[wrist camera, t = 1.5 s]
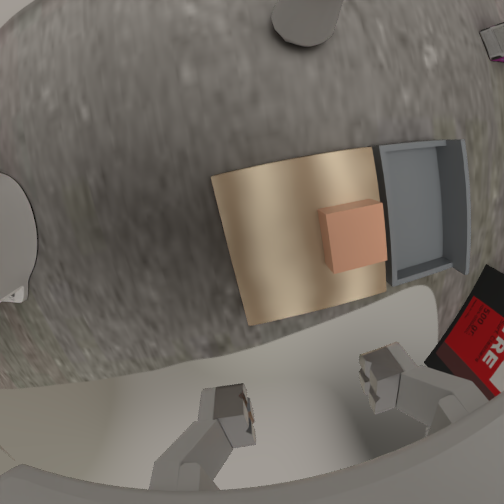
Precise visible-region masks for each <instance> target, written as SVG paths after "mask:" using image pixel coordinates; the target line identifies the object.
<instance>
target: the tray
mask: <svg viewBox="0 0 504 504" xmlns="http://www.w3.org/2000/svg"><path fill="white" fill-rule="evenodd" d="M368 147H372V151H373V156H374V162H375V169H376V175H377V182H378V189H379V197H380V202H382V203H383V211H384V221H385V233H386V246H387V260H386V261H385V268H386V281H387V282H388V283H389V284H390V285H391V286H392V287H393V286H397V285H400V284H403V283H406V282H409V281H413V280H416V279H419V278H422V277H425V276H428V275H431V274H434V273H437V272H440V271H443V270H446V269H448V268H451V267H453V268H454V269H456V270H458V271H459V272H461V273H463V274H464V275H467V274H469V265H470V246H471V203H470V184H469V172H468V162H467V153H466V146H465V140H427V141H415V142H404V143H394V144H385V145H376V146H368Z"/></svg>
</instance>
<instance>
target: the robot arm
mask: <svg viewBox="0 0 504 504" xmlns="http://www.w3.org/2000/svg"><path fill="white" fill-rule="evenodd" d="M36 254H37V233H36V225H35V220H34V216H33V213H32V209H31V206H30V204H29V201H28V199H27V197H26V195H25V193H24V192H23V190H22V189H21V187H20V186H19V185H18V184H17V182H16V181H15V180H13V179H12V178H11V177H9V176H7V175H5V174H2V173H0V302H2V301H5V302H15V303H22V302H23V301H25V300H26V299H27V297H28V280H29V277H30V274H31V272H32V270H33V267H34V264H35V260H36ZM359 364H360V366H361V370H360V371H359V379H360V384H361V387H362V390H363V392H364V394H365V395H367V396H369V404H370V406H371V408H372V410H373V412H374V414H378V413H381V412H384V411H387V410H390V409H392V408H395V407H396V409H398V410H400V411H402V412H403V413H405V414H407V415H409V416H410V417H412V418H414V419H416V420H418V421H419V422H421V423H423V424H425V425H427V426H428V427H430V429H429V432H428V435H427V437H425V438H423V439H421V440H418V441H416V442H414V443H412V444H410V445H407V446H405V447H403V448H400V449H398V450H395V451H393V452H390V453H388V454H385V455H383V456H380V457H378V458H375V459H372V460H369V461H366V462H363V463H360V464H357V465H354V466H351V467H347V468H344V469H340V470H337V471H334V472H330V473H326V474H322V475H318V476H314V477H309V478H305V479H300V480H295V481H290V482H285V483H279V484H272V485H266V486H258V487H250V488H242V489H229V490H220V489H219V488H218V487H217V486H216V485H215V483H214V482H213V480H214V478H215V477H216V475H217V474H218V472H219V471H220V469H221V468H222V466H223V465H224V463H225V461H226V460H227V458H228V457H229V455H230V454H231V452H232V450H233V448H238V447H245V446H250V445H256V437H255V429H254V426H253V423H254V413H253V408H252V405H251V401H250V398H248V397H247V389H246V387H245V385H244V383H241V384H234V385H227V386H220V387H215V388H205V389H203V390H202V392H201V400H200V407H199V415H198V421H196V422H193V423H192V424H191V425H190V426H189V428H187V430H186V431H185V432H184V433H183V434H182V435H181V436H180V437H179V438H178V439H177V440H176V441H175V442H174V443H173V444H172V445H171V446H170V447H169V448H168V449H167V450H166V451H165V452H164V453H163V454H162V455H161V456H160V457H159V458H158V459H157V460H156V461H155V462H154V467H153V472H152V477H151V482H150V487H149V490H147V489H135V488H127V487H119V486H112V485H105V484H99V483H94V482H89V481H84V480H79V479H74V478H70V477H66V476H62V475H58V474H54V473H51V472H47V471H44V470H41V469H38V468H35V467H32V466H28V465H25V464H21V465H18V466H16V467H14V468H12V469H10V470H8V471H7V472H5V473H4V474H2V475H0V504H504V391H503V392H501V393H500V394H498V395H497V396H496V397H494V398H493V399H491V400H490V401H489V400H488V399H487V398H486V397H485V396H484V394H483V393H482V392H481V391H480V390H479V389H478V387H477V386H476V385H475V384H474V383H473V382H472V381H470V380H466V379H463V378H460V377H457V376H453V375H450V374H447V373H444V372H441V371H438V370H435V369H432V368H429V367H425V366H422V365H420V366H417V365H416V364H415V362H414V361H413V360H412V359H411V357H410V356H409V355H408V354H407V352H406V351H405V350H404V349H403V347H402V346H401V345H400V344H399V343H398V342H394V343H392V344H389V345H386V346H384V347H381V348H378V349H375V350H372V351H369V352H367V353H363V354H360V356H359Z"/></svg>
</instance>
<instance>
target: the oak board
mask: <svg viewBox="0 0 504 504" xmlns="http://www.w3.org/2000/svg"><path fill="white" fill-rule="evenodd" d="M211 180H212V184H213V188H214V192H215V197H216V201H217V205H218V209H219V213H220V217H221V221H222V225H223V229H224V233H225V237H226V241H227V245H228V249H229V253H230V256H231V260H232V264H233V268H234V272H235V276H236V280H237V283H238V287H239V291H240V295H241V299H242V302H243V306H244V310H245V314H246V317H247V321H248V325H249V326H252V325H257V324H262V323H266V322H271V321H275V320H280V319H284V318H288V317H293V316H297V315H301V314H305V313H309V312H313V311H317V310H321V309H325V308H329V307H333V306H336V305H340V304H344V303H348V302H351V301H355V300H358V299H362V298H365V297H369V296H372V295H376V294H379V293H382V292H386V268H385V261H383V262H379V263H375V264H372V265H368V266H364V267H360V268H356V269H352V270H349V271H345V272H341V273H337V274H333V272H332V271H331V270H330V269H329V267H328V266H327V265H326V263H325V256H324V249H323V242H322V236H321V229H320V223H319V217H318V211H317V209H321V208H325V207H330V206H335V205H340V204H345V203H350V202H355V201H360V200H365V199H373V200H376V201H379V202H380V197H379V189H378V182H377V175H376V169H375V162H374V156H373V151H372V147H362V148H353V149H346V150H339V151H333V152H326V153H320V154H314V155H308V156H303V157H297V158H292V159H286V160H281V161H276V162H271V163H266V164H261V165H257V166H252V167H248V168H243V169H239V170H234V171H230V172H226V173H221V174H217V175H214V176H212V177H211Z"/></svg>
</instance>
